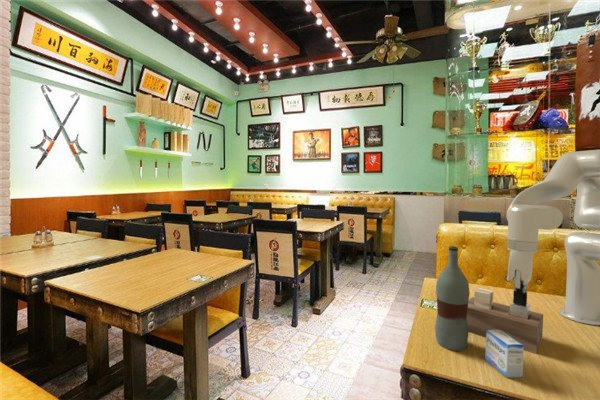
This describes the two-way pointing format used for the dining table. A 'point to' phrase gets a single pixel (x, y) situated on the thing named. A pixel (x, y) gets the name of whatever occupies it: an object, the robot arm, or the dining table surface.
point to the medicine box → (504, 353)
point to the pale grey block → (520, 310)
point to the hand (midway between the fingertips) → (519, 303)
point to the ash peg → (483, 298)
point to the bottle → (452, 305)
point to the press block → (506, 324)
